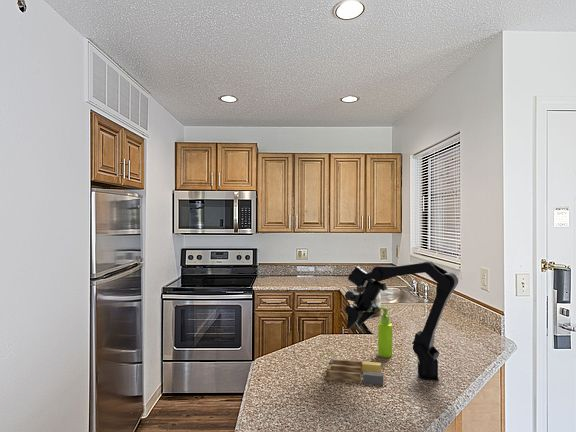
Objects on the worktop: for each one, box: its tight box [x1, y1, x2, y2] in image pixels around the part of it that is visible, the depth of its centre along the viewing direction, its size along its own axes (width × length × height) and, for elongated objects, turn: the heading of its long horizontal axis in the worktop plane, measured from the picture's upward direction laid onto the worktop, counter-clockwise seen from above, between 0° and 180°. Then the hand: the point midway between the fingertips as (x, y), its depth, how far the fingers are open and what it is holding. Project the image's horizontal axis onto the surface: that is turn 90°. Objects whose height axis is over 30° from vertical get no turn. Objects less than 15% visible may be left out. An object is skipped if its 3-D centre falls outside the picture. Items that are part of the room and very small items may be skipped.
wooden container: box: [355, 284, 382, 318], centre depth 256 cm, size 15×15×22 cm
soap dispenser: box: [377, 306, 393, 358], centre depth 177 cm, size 6×7×20 cm
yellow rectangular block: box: [361, 360, 382, 373], centre depth 157 cm, size 7×3×3 cm, turn 77°
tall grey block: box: [362, 372, 384, 386], centre depth 146 cm, size 7×3×3 cm, turn 78°
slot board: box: [325, 358, 363, 384], centre depth 154 cm, size 12×14×3 cm
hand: (353, 326), depth 169 cm, fingers open, 9 cm apart
